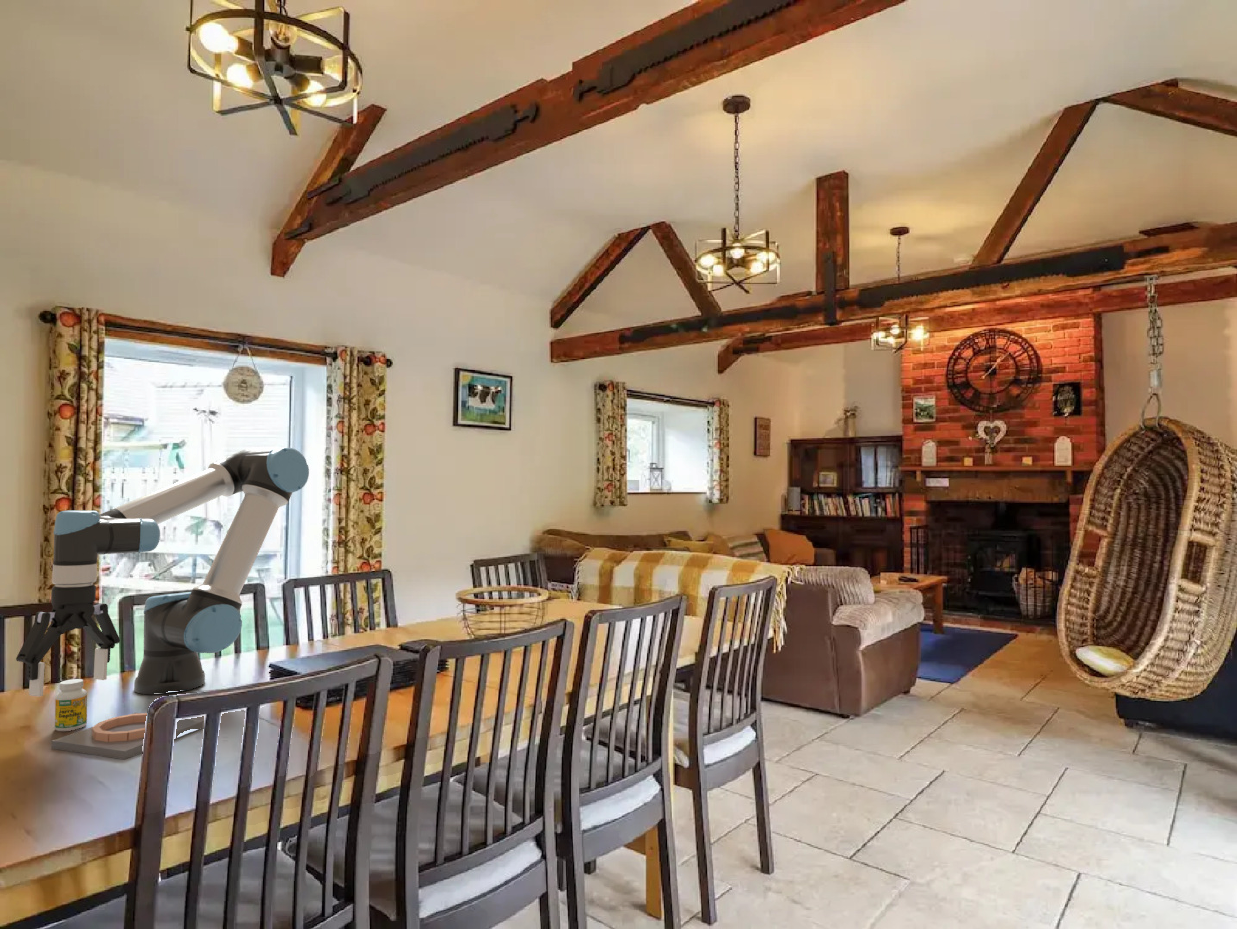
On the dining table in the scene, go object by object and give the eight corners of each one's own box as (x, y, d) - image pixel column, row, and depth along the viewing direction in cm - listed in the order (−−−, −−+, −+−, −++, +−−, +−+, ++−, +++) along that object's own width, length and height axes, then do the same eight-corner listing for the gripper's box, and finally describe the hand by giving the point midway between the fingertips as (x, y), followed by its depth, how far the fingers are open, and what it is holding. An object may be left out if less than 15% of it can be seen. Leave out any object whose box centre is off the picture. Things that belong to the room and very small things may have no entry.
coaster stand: (135, 719, 161) (135, 705, 161) (202, 728, 156) (203, 713, 156) (51, 748, 144) (52, 732, 144) (124, 759, 139) (125, 743, 139)
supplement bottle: (87, 721, 159) (88, 676, 159) (86, 729, 155) (87, 682, 155) (55, 726, 156) (56, 680, 156) (53, 733, 152) (54, 686, 152)
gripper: (115, 577, 169) (110, 671, 168) (-3, 590, 145) (-9, 701, 144) (141, 578, 167) (137, 674, 166) (25, 593, 143) (20, 705, 142)
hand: (69, 687), depth 155 cm, fingers open, 13 cm apart
